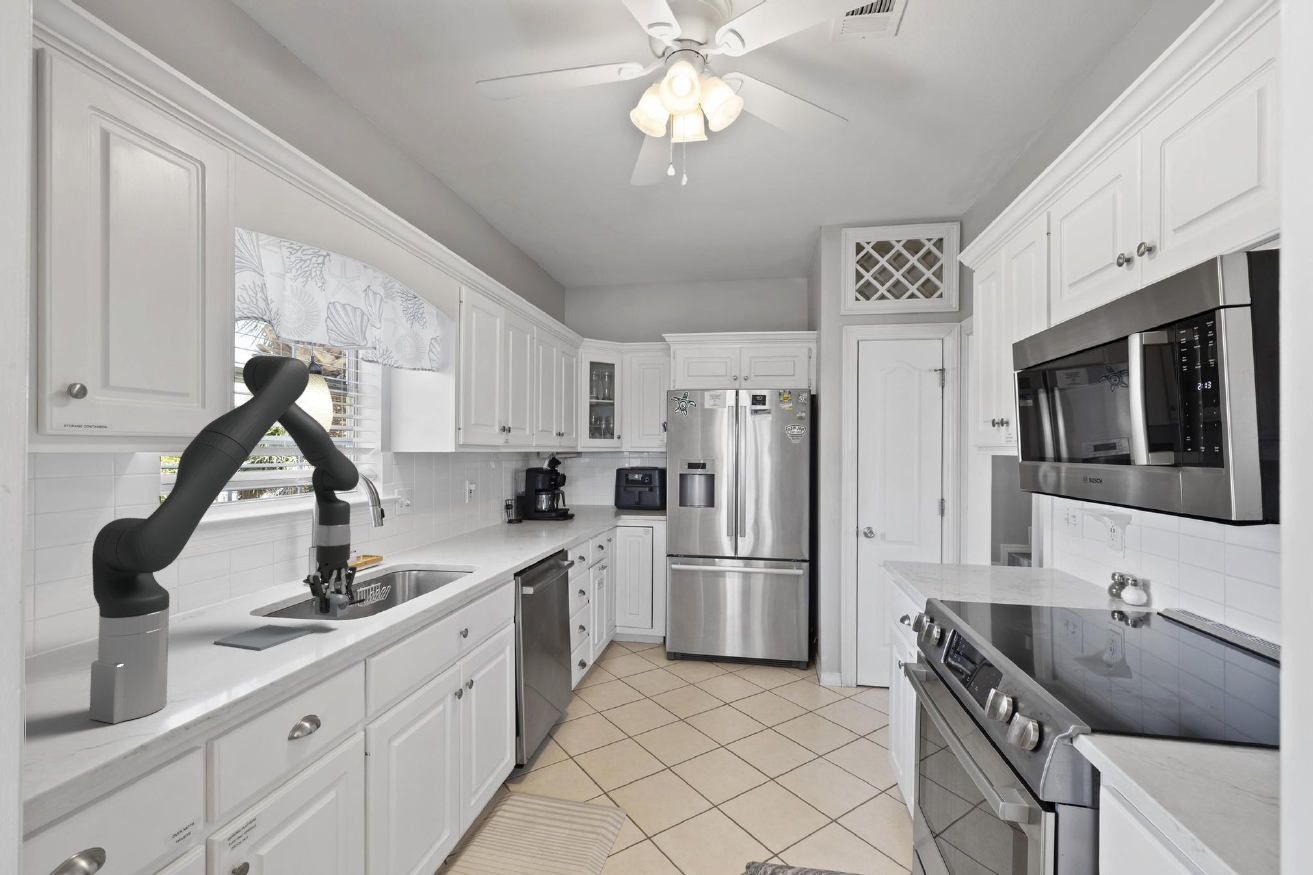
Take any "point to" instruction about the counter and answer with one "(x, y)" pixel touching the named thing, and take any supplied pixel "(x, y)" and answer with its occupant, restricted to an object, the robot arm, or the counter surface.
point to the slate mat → (263, 637)
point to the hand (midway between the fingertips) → (331, 610)
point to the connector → (334, 605)
